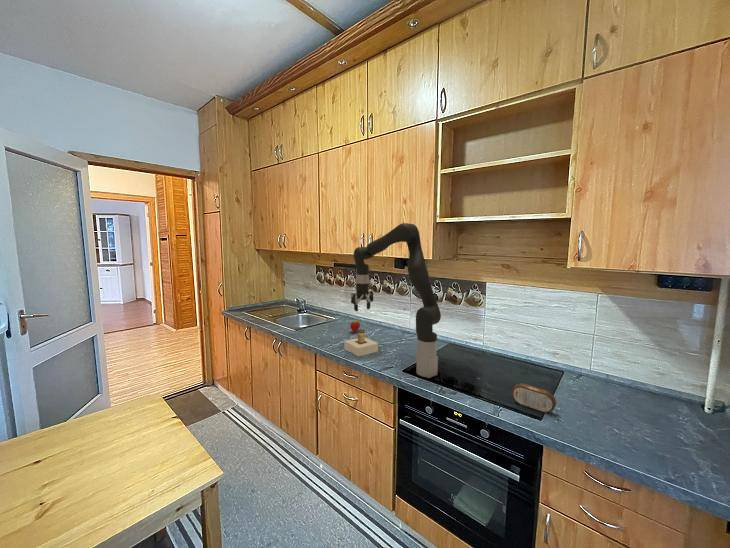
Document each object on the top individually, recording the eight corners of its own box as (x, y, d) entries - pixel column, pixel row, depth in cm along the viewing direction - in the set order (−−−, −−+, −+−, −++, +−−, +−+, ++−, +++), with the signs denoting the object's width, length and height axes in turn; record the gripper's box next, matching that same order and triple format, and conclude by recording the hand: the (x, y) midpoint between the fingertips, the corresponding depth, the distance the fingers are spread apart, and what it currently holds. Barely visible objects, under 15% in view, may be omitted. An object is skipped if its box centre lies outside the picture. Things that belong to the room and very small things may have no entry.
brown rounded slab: (555, 413, 114) (557, 392, 113) (553, 417, 112) (555, 396, 111) (512, 399, 124) (514, 380, 123) (510, 402, 122) (511, 382, 121)
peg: (365, 350, 176) (366, 330, 175) (360, 352, 174) (360, 331, 172) (361, 348, 179) (361, 329, 178) (356, 349, 177) (356, 330, 175)
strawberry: (362, 332, 209) (362, 318, 208) (353, 334, 204) (353, 320, 203) (356, 330, 214) (356, 316, 212) (348, 332, 209) (348, 318, 207)
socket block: (377, 351, 175) (377, 343, 174) (358, 356, 167) (358, 348, 166) (363, 344, 186) (363, 336, 186) (344, 349, 178) (344, 341, 177)
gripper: (356, 284, 165) (356, 313, 166) (376, 281, 173) (376, 309, 175) (348, 282, 170) (348, 310, 172) (368, 280, 179) (368, 307, 181)
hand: (362, 309), depth 174 cm, fingers open, 8 cm apart
